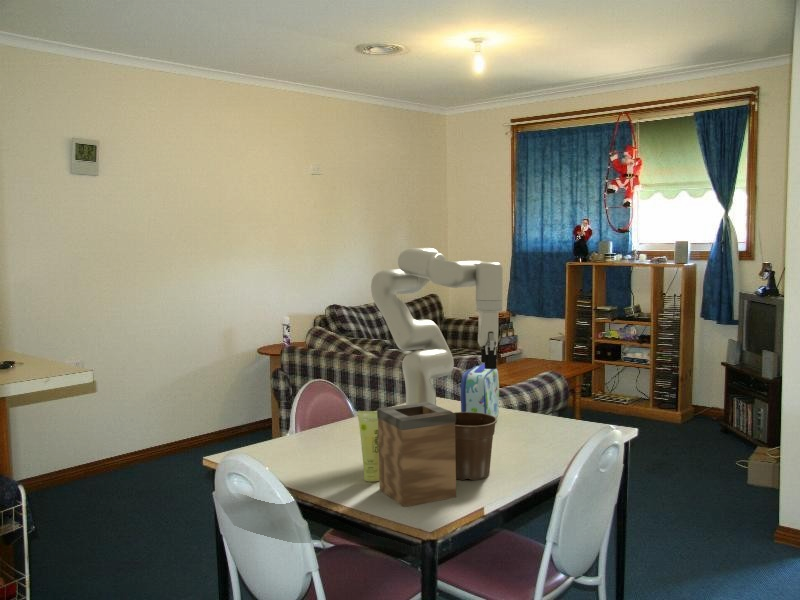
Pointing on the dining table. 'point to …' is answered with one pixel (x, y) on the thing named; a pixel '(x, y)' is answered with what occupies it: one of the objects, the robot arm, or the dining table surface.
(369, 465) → the tube
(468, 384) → the lunch box
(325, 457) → the dining table surface
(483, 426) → the plant pot
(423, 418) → the socket
